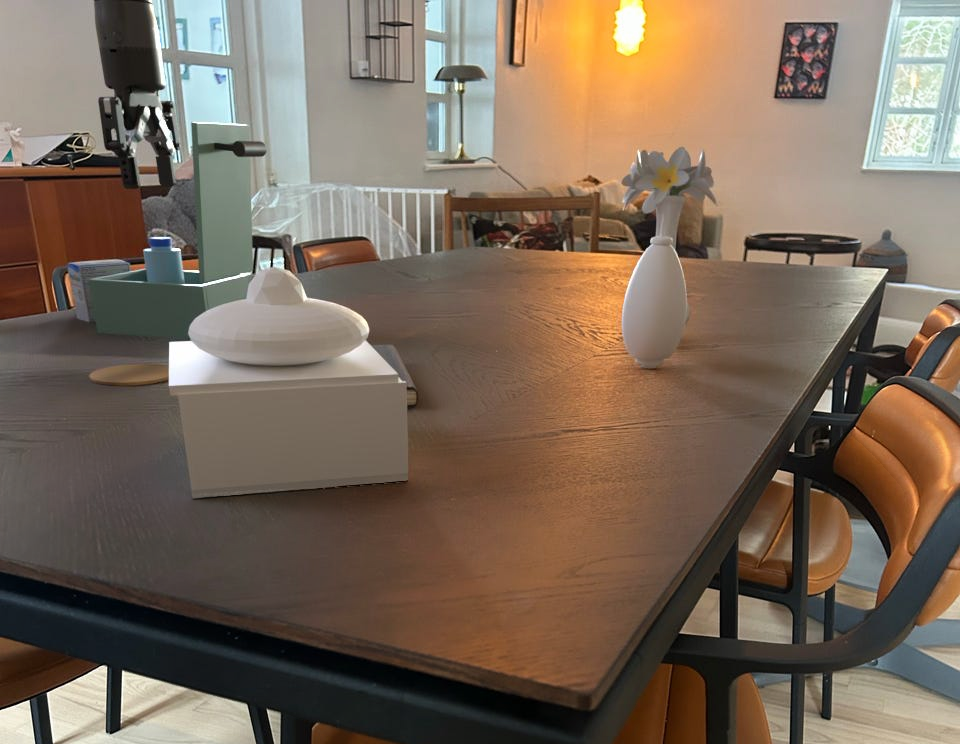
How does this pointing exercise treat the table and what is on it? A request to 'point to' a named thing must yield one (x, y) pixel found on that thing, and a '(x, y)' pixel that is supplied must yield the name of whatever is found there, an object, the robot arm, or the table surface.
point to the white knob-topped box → (286, 394)
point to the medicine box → (80, 284)
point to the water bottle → (163, 262)
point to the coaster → (131, 374)
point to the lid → (223, 198)
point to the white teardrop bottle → (655, 304)
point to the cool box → (159, 302)
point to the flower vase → (668, 187)
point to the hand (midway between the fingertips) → (150, 187)
